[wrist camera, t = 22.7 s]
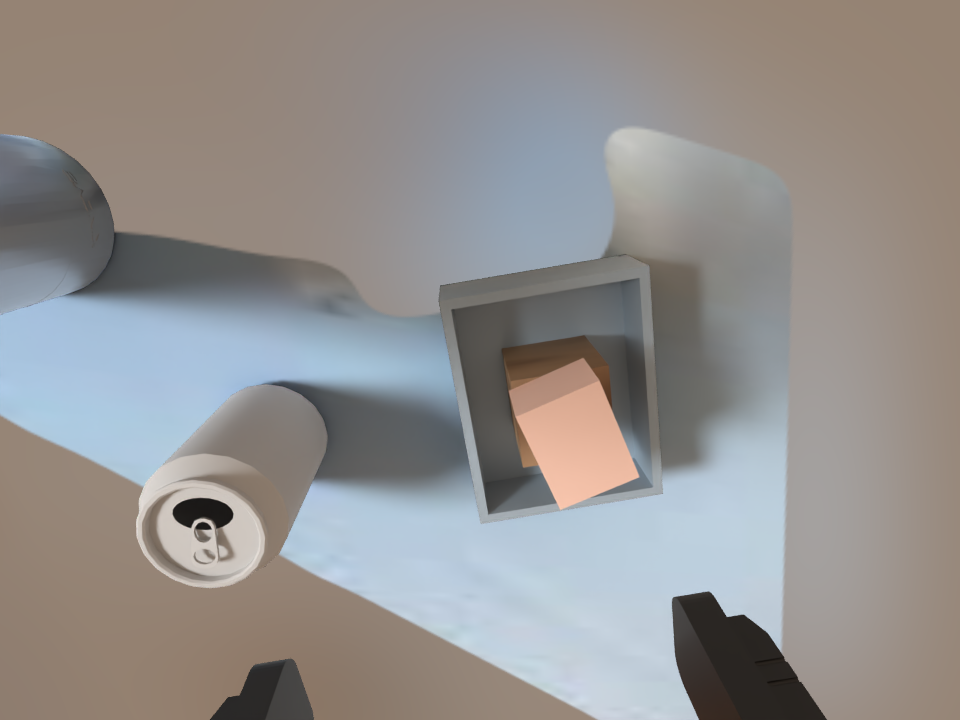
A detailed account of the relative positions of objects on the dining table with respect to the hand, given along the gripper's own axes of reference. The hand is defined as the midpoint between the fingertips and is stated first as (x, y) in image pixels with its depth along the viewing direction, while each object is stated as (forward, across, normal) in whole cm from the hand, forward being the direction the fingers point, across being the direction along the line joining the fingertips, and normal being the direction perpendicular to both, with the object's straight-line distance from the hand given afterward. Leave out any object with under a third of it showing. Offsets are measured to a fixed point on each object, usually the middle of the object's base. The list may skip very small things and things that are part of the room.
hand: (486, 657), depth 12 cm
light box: (+20, -5, +4) cm, 21 cm away
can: (+26, +14, +5) cm, 30 cm away
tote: (+26, -5, +4) cm, 27 cm away
